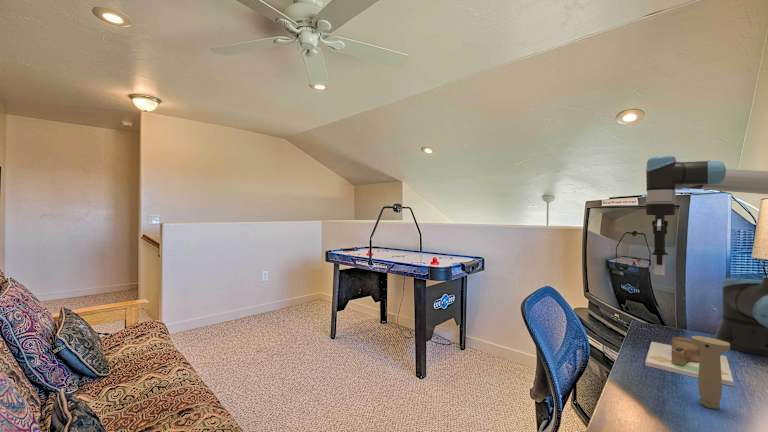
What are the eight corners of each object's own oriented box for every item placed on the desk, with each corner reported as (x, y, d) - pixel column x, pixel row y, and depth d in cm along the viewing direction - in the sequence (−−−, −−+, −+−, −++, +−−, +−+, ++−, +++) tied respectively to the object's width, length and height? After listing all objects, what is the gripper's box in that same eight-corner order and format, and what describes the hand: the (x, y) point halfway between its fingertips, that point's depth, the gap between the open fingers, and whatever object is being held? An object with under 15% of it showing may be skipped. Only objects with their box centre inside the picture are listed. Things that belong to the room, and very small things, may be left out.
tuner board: (726, 360, 104) (726, 356, 104) (733, 386, 88) (733, 381, 88) (651, 345, 116) (651, 341, 116) (645, 365, 100) (645, 361, 100)
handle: (726, 416, 75) (726, 347, 75) (687, 402, 80) (688, 338, 80) (731, 409, 77) (732, 342, 77) (694, 396, 83) (695, 334, 83)
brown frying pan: (675, 350, 108) (675, 335, 108) (705, 358, 102) (705, 342, 102) (661, 360, 100) (662, 344, 100) (693, 369, 95) (693, 352, 95)
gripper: (647, 204, 121) (647, 271, 121) (644, 202, 111) (643, 275, 111) (675, 203, 116) (674, 273, 116) (674, 202, 106) (673, 278, 106)
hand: (659, 274), depth 114 cm, fingers closed
